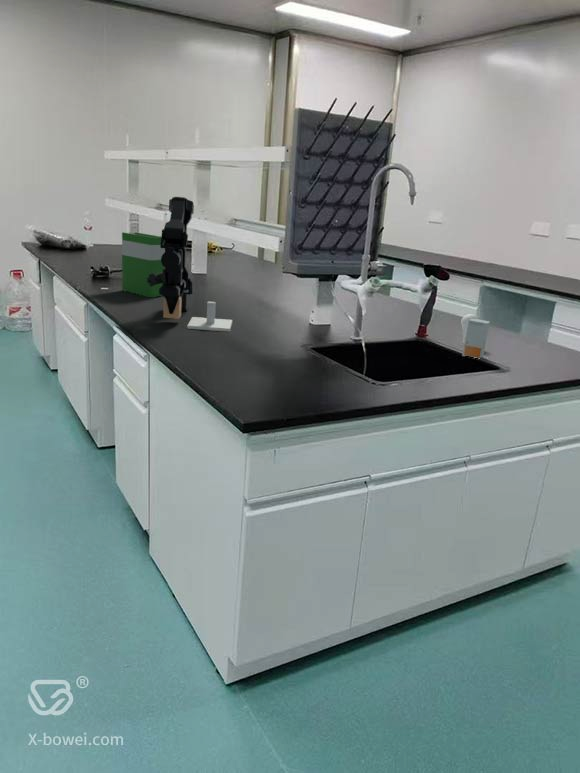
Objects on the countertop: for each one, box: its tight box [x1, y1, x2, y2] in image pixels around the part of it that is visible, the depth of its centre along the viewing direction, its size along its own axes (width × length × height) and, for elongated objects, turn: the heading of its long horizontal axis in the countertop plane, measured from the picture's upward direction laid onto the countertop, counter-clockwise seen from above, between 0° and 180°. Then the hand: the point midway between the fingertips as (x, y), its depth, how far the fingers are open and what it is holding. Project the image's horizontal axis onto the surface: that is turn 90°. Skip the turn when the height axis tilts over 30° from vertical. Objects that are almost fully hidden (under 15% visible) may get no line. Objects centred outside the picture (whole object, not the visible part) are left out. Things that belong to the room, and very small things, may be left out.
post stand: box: [186, 300, 233, 333], centre depth 202 cm, size 14×14×8 cm
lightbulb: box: [460, 313, 480, 344], centre depth 206 cm, size 6×6×11 cm
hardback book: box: [121, 231, 165, 298], centre depth 246 cm, size 18×7×24 cm, turn 53°
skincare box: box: [461, 318, 491, 359], centre depth 190 cm, size 6×4×12 cm
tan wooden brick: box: [162, 296, 182, 320], centre depth 201 cm, size 5×5×7 cm
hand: (172, 312), depth 201 cm, fingers closed on tan wooden brick, 5 cm apart
